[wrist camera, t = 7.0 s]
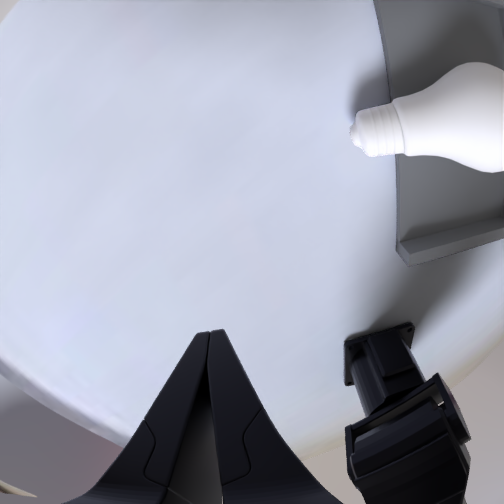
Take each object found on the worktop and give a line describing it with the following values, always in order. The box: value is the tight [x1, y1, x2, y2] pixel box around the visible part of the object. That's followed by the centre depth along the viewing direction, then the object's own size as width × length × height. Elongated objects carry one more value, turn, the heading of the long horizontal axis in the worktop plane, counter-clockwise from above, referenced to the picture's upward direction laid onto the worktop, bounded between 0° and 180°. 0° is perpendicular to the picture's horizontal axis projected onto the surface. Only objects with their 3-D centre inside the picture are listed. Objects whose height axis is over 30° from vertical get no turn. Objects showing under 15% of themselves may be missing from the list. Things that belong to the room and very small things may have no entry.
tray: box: [373, 0, 504, 267], centre depth 15 cm, size 18×11×2 cm, turn 12°
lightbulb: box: [350, 62, 504, 173], centre depth 13 cm, size 6×6×11 cm
